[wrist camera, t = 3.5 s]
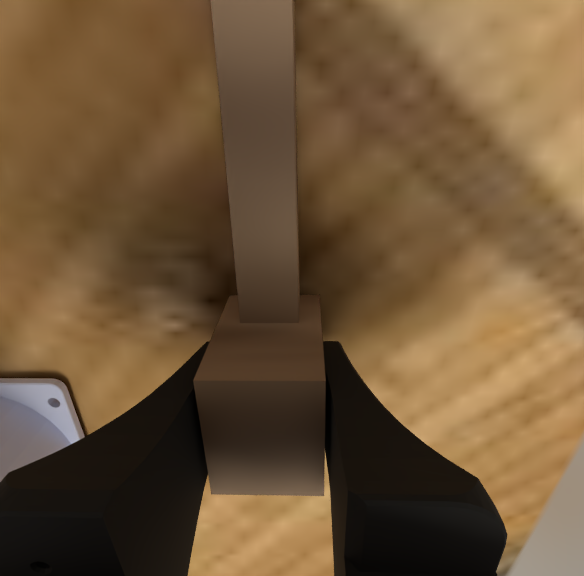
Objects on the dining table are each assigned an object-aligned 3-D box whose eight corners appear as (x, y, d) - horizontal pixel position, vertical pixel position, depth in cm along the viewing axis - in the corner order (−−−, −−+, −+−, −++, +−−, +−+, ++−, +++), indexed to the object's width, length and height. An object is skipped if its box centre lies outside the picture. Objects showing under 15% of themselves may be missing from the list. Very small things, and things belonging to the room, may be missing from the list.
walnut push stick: (341, 385, 15) (356, 496, 11) (216, 385, 15) (180, 493, 11) (362, -162, 9) (418, -446, 4) (146, -149, 9) (-10, -408, 4)
